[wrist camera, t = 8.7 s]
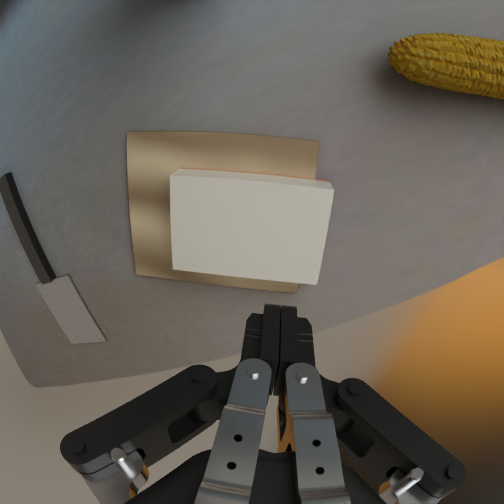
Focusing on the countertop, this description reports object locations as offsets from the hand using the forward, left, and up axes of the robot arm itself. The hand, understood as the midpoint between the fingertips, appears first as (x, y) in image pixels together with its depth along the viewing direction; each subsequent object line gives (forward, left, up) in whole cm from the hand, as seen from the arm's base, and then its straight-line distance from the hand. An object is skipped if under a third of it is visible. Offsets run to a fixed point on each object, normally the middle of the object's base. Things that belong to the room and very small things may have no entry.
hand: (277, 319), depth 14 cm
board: (0, -5, -14) cm, 15 cm away
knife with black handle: (+8, -27, -14) cm, 31 cm away
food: (-17, +17, -14) cm, 28 cm away
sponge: (0, +4, -12) cm, 12 cm away
